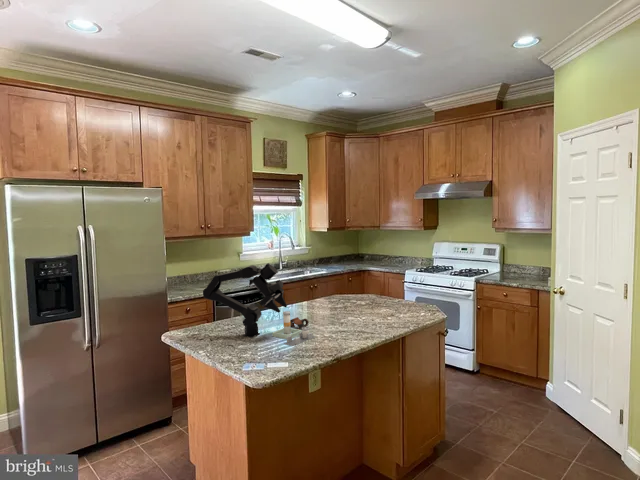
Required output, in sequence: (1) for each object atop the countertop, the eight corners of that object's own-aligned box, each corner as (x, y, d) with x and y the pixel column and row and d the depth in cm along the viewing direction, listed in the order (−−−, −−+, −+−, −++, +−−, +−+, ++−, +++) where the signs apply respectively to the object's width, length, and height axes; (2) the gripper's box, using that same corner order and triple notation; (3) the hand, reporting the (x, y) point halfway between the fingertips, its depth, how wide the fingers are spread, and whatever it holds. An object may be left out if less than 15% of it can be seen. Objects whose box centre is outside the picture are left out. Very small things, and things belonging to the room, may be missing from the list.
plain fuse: (300, 338, 202) (300, 328, 202) (305, 336, 205) (304, 326, 205) (306, 339, 200) (306, 329, 200) (310, 337, 203) (310, 327, 202)
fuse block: (283, 345, 194) (282, 338, 194) (306, 336, 207) (306, 329, 207) (292, 348, 190) (292, 340, 190) (315, 338, 204) (315, 331, 203)
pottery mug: (292, 336, 211) (286, 321, 213) (289, 339, 220) (282, 325, 222) (313, 326, 216) (306, 312, 218) (309, 330, 224) (302, 316, 226)
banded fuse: (283, 336, 207) (282, 312, 206) (285, 334, 210) (284, 311, 210) (289, 336, 206) (289, 312, 205) (291, 334, 210) (291, 311, 209)
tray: (272, 338, 207) (272, 332, 207) (285, 332, 216) (285, 327, 215) (289, 341, 201) (289, 335, 201) (302, 335, 210) (302, 330, 209)
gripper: (265, 279, 199) (287, 304, 197) (280, 272, 217) (300, 295, 215) (250, 294, 202) (271, 318, 200) (266, 285, 220) (285, 308, 218)
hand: (283, 309), depth 208 cm, fingers open, 9 cm apart
